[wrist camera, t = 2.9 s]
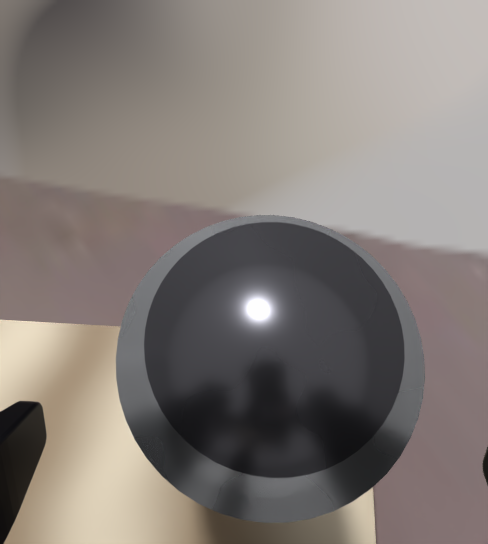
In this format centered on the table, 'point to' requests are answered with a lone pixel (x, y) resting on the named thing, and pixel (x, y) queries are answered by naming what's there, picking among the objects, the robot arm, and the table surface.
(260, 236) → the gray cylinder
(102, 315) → the table surface
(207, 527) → the rail board
